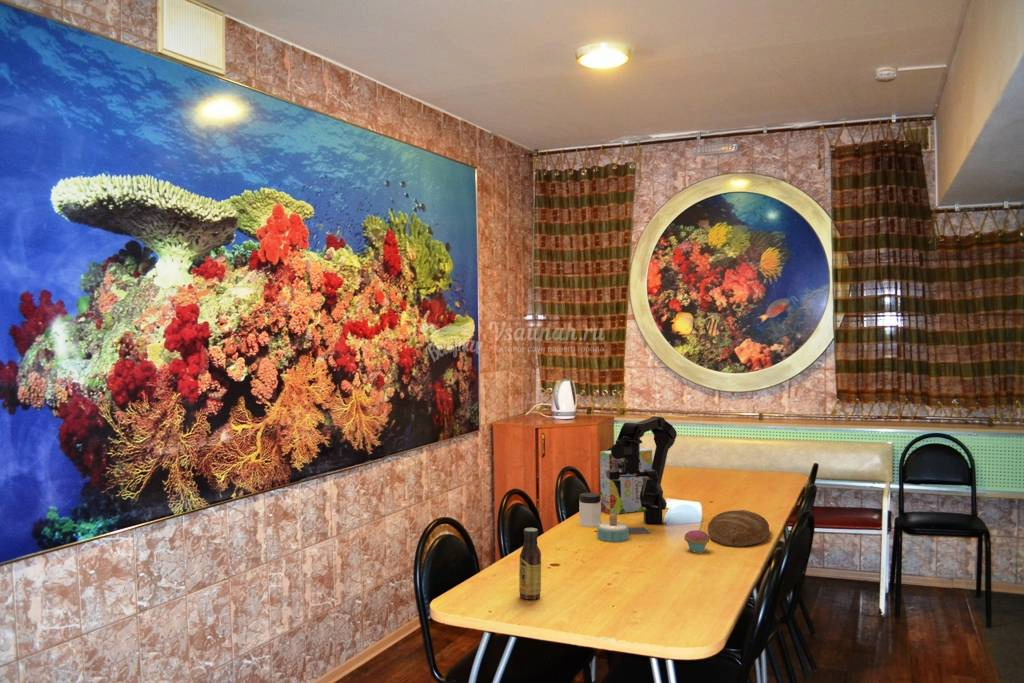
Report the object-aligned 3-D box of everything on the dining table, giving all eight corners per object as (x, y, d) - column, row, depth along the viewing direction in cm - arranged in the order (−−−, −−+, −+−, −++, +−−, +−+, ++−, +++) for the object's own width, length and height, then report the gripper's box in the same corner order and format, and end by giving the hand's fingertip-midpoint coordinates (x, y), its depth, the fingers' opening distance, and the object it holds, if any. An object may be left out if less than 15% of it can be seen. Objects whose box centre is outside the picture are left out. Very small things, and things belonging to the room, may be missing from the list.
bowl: (623, 534, 318) (623, 524, 318) (631, 542, 307) (631, 531, 307) (594, 535, 317) (594, 525, 316) (601, 543, 305) (601, 532, 305)
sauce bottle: (518, 594, 248) (518, 526, 248) (539, 593, 249) (539, 525, 248) (520, 601, 242) (520, 531, 241) (542, 601, 242) (542, 531, 242)
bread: (772, 527, 332) (772, 506, 332) (765, 551, 297) (765, 527, 297) (715, 522, 340) (715, 501, 340) (701, 545, 305) (701, 521, 305)
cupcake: (710, 549, 299) (710, 514, 298) (707, 555, 291) (708, 520, 290) (685, 546, 302) (686, 513, 301) (682, 552, 294) (682, 518, 293)
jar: (587, 528, 327) (587, 497, 327) (574, 524, 334) (574, 494, 334) (605, 525, 332) (605, 495, 332) (592, 521, 339) (592, 491, 339)
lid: (622, 524, 317) (623, 510, 317) (630, 531, 307) (630, 516, 307) (596, 525, 316) (596, 511, 316) (602, 532, 306) (602, 517, 306)
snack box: (642, 506, 368) (642, 447, 367) (653, 510, 360) (654, 449, 359) (598, 511, 358) (599, 450, 358) (610, 515, 350) (610, 453, 350)
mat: (643, 528, 329) (643, 527, 329) (651, 534, 319) (651, 533, 319) (618, 528, 327) (618, 527, 327) (625, 535, 317) (625, 534, 317)
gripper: (649, 452, 332) (649, 492, 333) (602, 453, 330) (602, 493, 330) (658, 456, 321) (657, 498, 322) (609, 457, 319) (609, 499, 319)
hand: (631, 497), depth 324 cm, fingers open, 9 cm apart
